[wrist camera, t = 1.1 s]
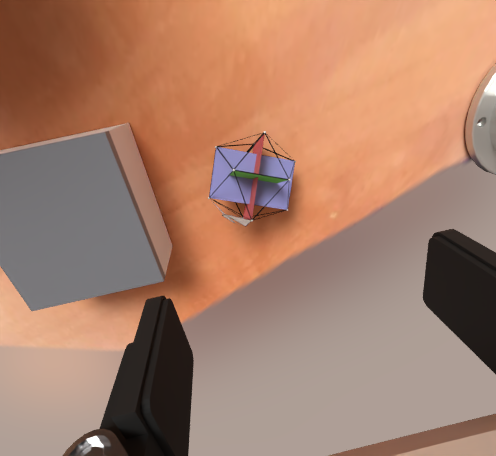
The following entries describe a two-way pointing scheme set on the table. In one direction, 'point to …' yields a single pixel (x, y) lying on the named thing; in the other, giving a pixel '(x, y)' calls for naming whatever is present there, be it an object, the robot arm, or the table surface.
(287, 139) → the table surface
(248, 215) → the geometric puzzle
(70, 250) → the grey stand
